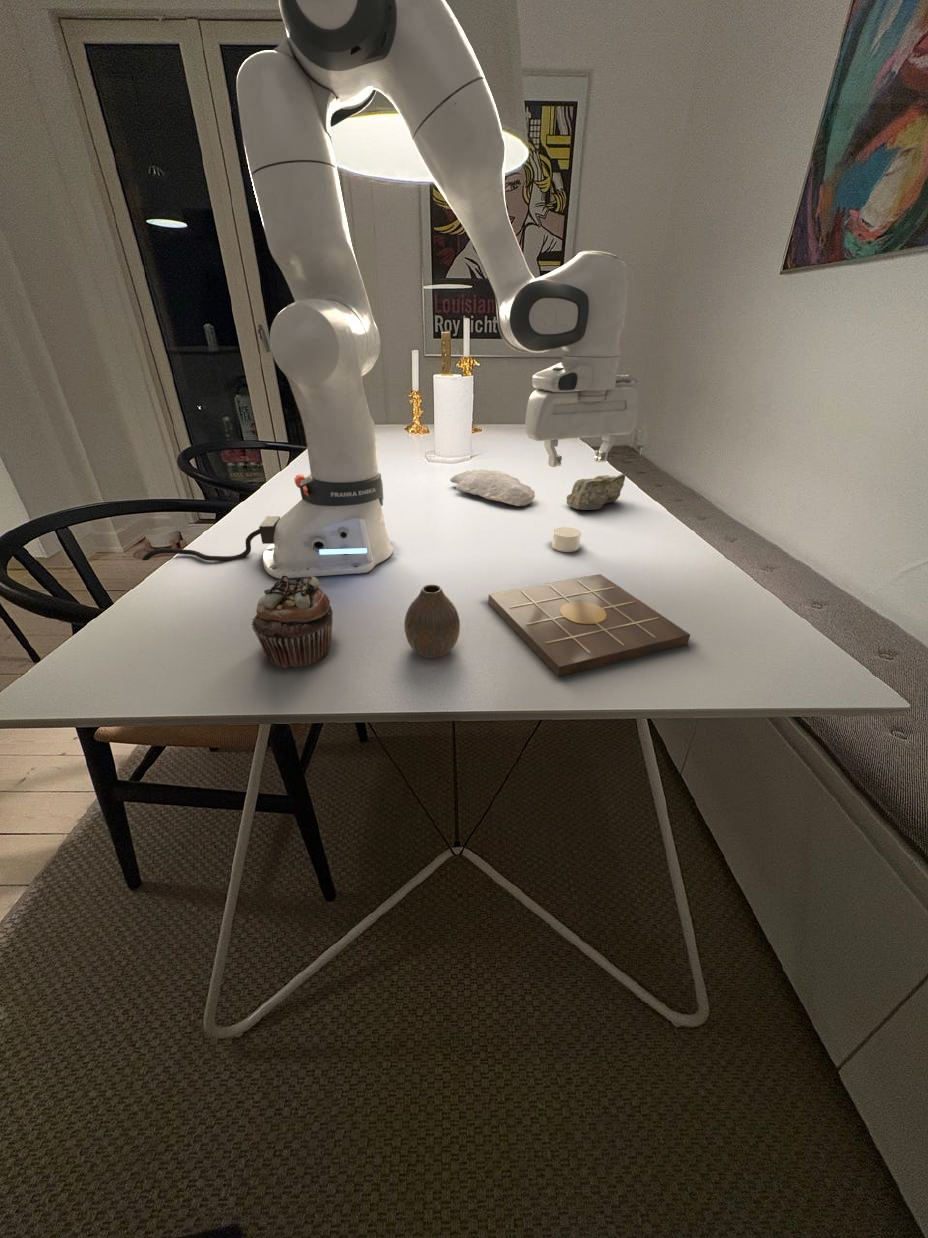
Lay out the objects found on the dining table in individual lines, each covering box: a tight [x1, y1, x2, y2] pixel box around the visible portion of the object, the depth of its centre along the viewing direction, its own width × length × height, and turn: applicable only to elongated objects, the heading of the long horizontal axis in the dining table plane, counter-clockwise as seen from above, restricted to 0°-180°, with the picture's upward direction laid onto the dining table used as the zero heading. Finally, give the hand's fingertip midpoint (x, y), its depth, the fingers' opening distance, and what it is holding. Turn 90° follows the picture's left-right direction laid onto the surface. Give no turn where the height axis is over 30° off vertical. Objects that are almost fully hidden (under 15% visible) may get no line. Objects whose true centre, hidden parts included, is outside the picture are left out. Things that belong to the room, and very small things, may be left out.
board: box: [487, 573, 691, 678], centre depth 72 cm, size 20×20×2 cm
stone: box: [449, 469, 536, 507], centre depth 124 cm, size 16×6×25 cm
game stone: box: [551, 526, 582, 553], centre depth 96 cm, size 5×5×3 cm
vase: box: [404, 584, 461, 659], centre depth 63 cm, size 7×7×9 cm
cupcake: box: [250, 576, 334, 669], centre depth 62 cm, size 10×10×10 cm
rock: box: [566, 473, 626, 511], centre depth 117 cm, size 17×7×10 cm
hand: (577, 463), depth 89 cm, fingers open, 8 cm apart
